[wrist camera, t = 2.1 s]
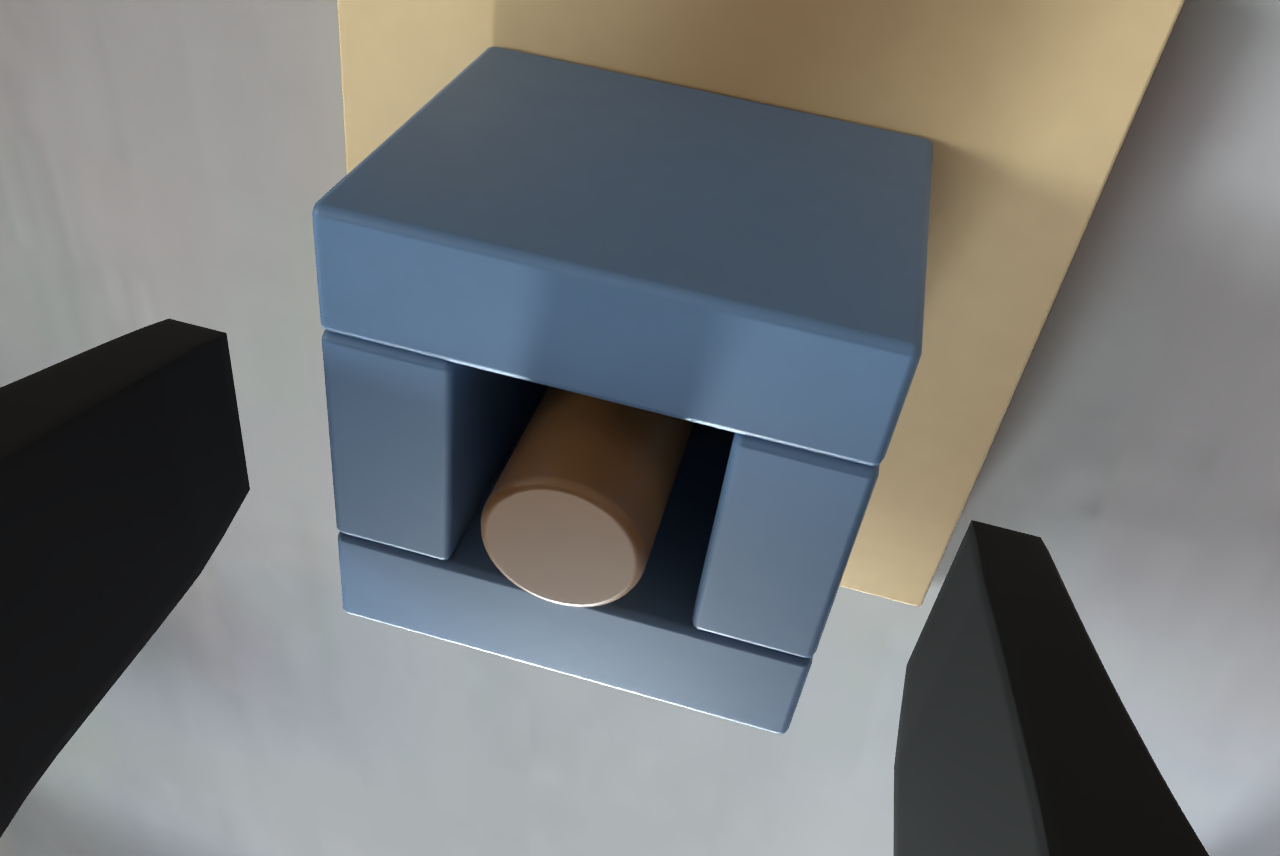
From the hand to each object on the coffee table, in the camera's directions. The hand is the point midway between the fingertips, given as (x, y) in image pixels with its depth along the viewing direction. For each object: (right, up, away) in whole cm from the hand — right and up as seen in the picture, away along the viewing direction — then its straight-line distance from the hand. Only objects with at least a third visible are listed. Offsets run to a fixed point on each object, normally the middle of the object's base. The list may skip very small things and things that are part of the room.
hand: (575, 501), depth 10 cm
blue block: (+1, +3, +3) cm, 4 cm away
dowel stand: (+1, +3, +4) cm, 5 cm away
